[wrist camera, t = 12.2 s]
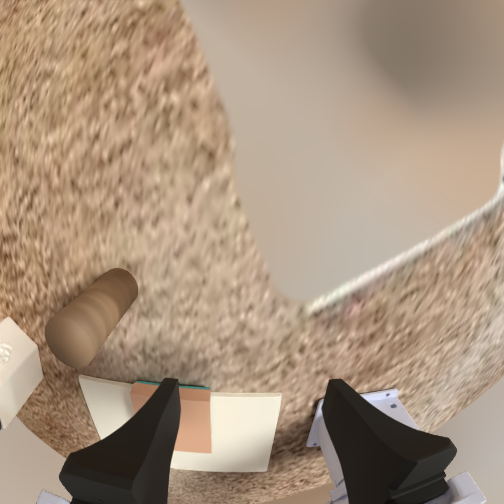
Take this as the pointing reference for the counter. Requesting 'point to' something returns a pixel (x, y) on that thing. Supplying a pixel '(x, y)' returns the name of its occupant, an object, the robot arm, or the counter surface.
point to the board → (222, 419)
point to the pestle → (90, 318)
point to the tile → (184, 415)
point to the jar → (16, 370)
